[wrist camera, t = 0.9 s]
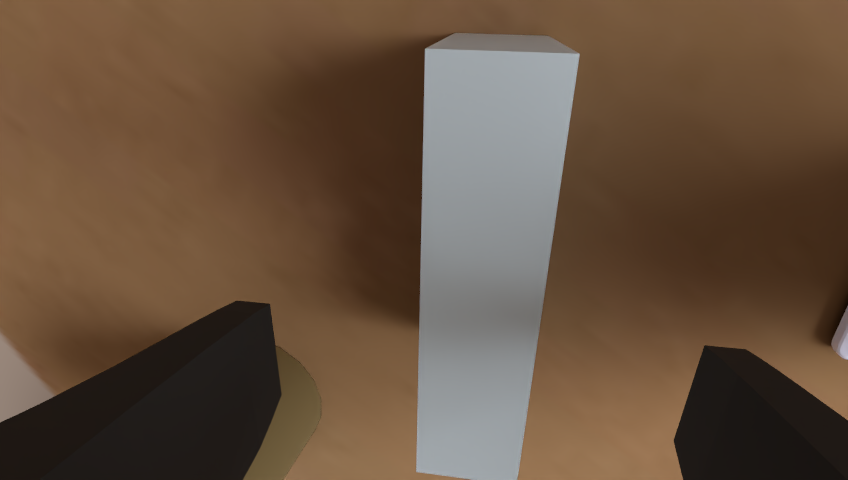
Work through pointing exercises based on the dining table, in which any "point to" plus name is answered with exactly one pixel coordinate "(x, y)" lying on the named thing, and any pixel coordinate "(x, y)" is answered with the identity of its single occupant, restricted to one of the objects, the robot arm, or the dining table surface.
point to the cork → (288, 421)
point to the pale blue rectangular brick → (486, 241)
